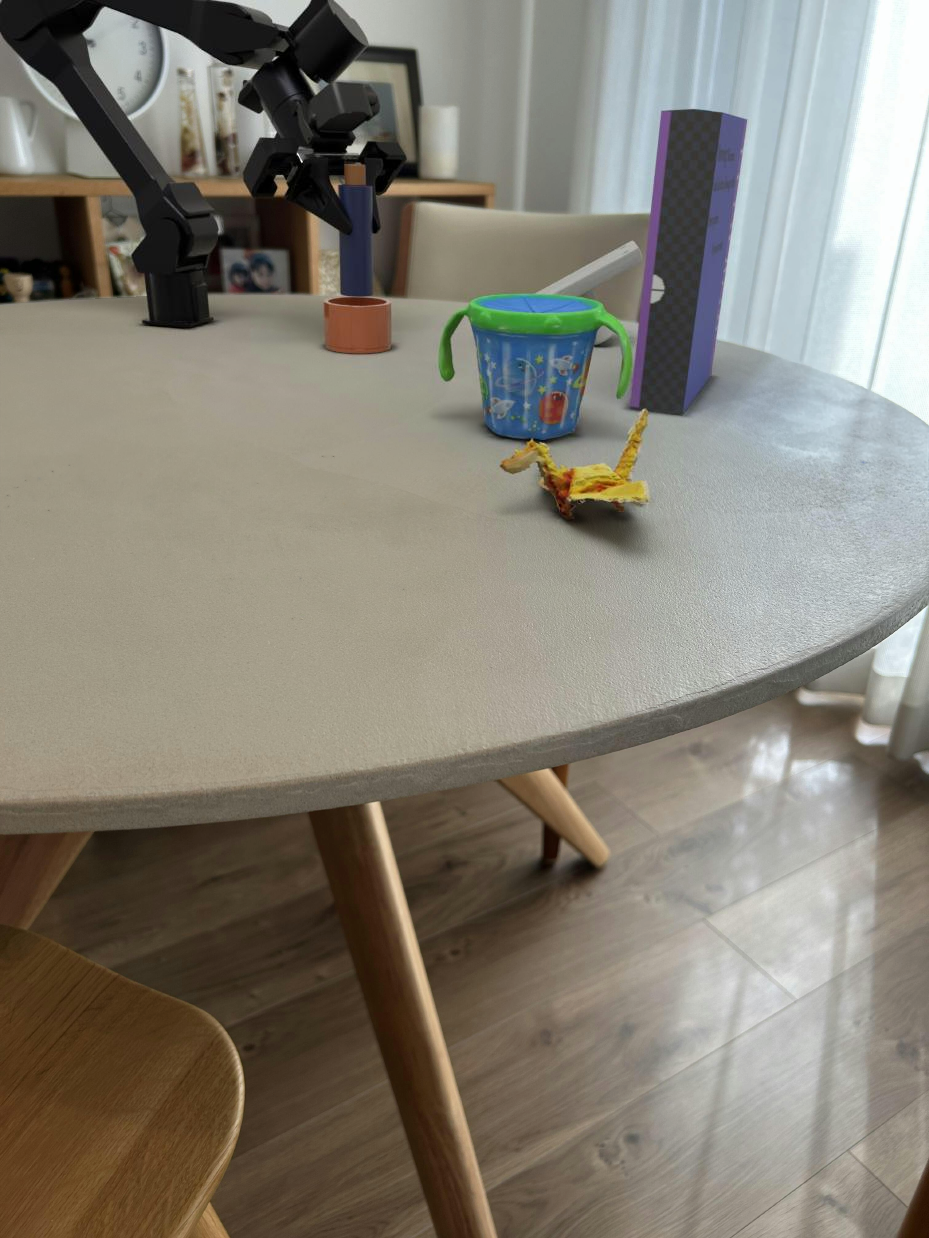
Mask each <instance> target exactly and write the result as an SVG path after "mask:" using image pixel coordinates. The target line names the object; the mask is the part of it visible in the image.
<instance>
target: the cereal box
mask: <svg viewBox="0 0 929 1238" xmlns="http://www.w3.org/2000/svg"><path fill="white" fill-rule="evenodd" d="M747 125H748V118H744V117H740V116H737V115H733V114H730V113H727V112H722V111H713V110H710V109H701V108H686V109H668V110H667V109H666V110H661V111H660V118H659V127H658V128H659V130H658V139H657V147H656V158H655V165H654V166H655V167H654V176H653V185H652V194H651V197H652V198H651V204H650V212H649V213H650V215H649V222H648V223H649V224H648V232H647V233H648V234H647V242H646V252H645V260H644V271H643V281H642V288H641V289H642V290H641V298H640V307H639V318H638V325H637V326H638V327H637V335H636V336H637V337H636V346H635V354H634V355H635V356H634V364H633V373H632V383H631V393H630V402H629V410H634V411H642V410H643V409H647V411H648V412H653V413H660V414H668V415H678V416H684V414H685V413H686V411H687V410H688V409H689V408H690V406H691V405H692V403H693V402H694V401H695V400H696V398H697V397H698V395H699V394H700V393H701V391H702V390H703V388H704V387H705V386H706V384H707V383H708V382H709V380H710V379H711V378H712V371H713V367H714V366H713V364H714V359H715V352H716V351H715V350H716V344H717V338H718V337H717V336H718V329H719V322H720V317H721V316H720V315H721V309H722V308H721V307H722V302H723V295H724V286H725V280H726V275H727V274H726V273H727V266H728V259H729V252H730V245H731V239H732V232H733V225H734V224H733V223H734V217H735V209H736V203H737V196H738V190H739V182H740V175H741V168H742V161H743V153H744V146H745V140H746V133H747Z"/></svg>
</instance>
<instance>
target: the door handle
mask: <svg viewBox="0 0 929 1238" xmlns="http://www.w3.org/2000/svg"><path fill="white" fill-rule="evenodd" d="M643 257H644V256H643V254H642V252H641V249H640V247H639V246H638V245H637V243H636V242H635V241H634V240H630V241H628V242H627V243H624V244H623V245H621V246H619V247H618V248H615V249H614V250H612V251H610V252H609V253H606V254H605V255H603V256H601V257H599V258H598V259H596V260H594V261H592V262H590V263H588V264H586V265H584V266H583V267H581V268H579V269H577V270H575V271H574V272H572V273H570V274H568V275H566V276H564V277H562V278H561V279H559V280H557V281H555V282H553V283H552V284H550V285H548V286H546V287H544V288H542V289H541V290H539V291H537V292H535V293H534V294H554V295H566V296H575V297H582V298H587V299H591V300H595V301H598V299H597V296H596V295H595V292H594V289H595V288H596V287H599V286H600V285H602V284H604V283H606V282H608V281H610V280H612V279H613V278H616V277H617V276H619V275H621V274H623V273H625V272H626V271H628V270H631V269H632V268H634V267H636V266H638V265H640V264H642V263H644V258H643ZM614 335H616V333H614V332H613V331H611V330H610V329H608V328H607V327H606V326H601V327H600V328H599V329H598V331H597V335H596V340H595V343H594V346H597V345H601V344H603V343H605V342H607V341H608V340H610V339H611V338H612V337H614Z"/></svg>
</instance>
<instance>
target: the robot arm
mask: <svg viewBox="0 0 929 1238" xmlns="http://www.w3.org/2000/svg"><path fill="white" fill-rule="evenodd" d="M104 8H108V9H111V10H113V11H116V12H118V13H120V14H124V15H126V16H129V17H132V18H134V19H138V20H140V21H142V22H145V23H148V24H151V25H154V26H156V27H159V28H162V29H165V30H167V31H170V32H173V33H174V34H178V35H179V36H182V38H185V39H186V40H188V41H190V43H191V44H193V45H194V46H195V47H197V48H198V49H199V50H201V51H203V52H204V53H206V54H207V55H209V56H211V57H212V58H214V59H216V60H217V61H219V62H221V63H222V64H223V65H224V64H225V65H226V66H232V67H240V68H245V69H250V70H256V72H255V73H254V74H253V75H252V77H251V78H250V79H243V80H242V87H241V89H240V90H239V93H238V97H237V103H238V104H239V105H240V106H242V107H244V108H245V109H248V110H250V111H252V112H253V113H256V114H257V115H261V114H262V113H263V112H264V113H265V115H266V117H267V118H268V120H269V121H270V123H271V125H272V127H273V129H274V131H275V132H276V133H275V135H274V137H267V136H265V137H262V136H261V137H259V138H258V140H257V142H256V143H255V146H254V148H253V150H252V152H251V154H250V156H249V158H248V160H247V162H246V165H245V167H244V169H243V171H242V181H243V183H244V185H245V186H246V188H247V190H248V192H249V194H250V195H251V196H252V198H274V196H275V195H276V193H277V191H278V189H279V186H278V185H277V183H276V181H275V179H276V178H277V176H282V177H283V179H284V180H285V181H286V182H285V184H286V186H287V189H286V191H285V192H284V194H283V199H284V200H285V202H286V203H292V204H294V205H296V206H297V207H300V208H301V209H303V210H305V211H306V212H308V213H310V214H311V215H314V216H316V217H317V218H319V219H320V220H321V221H323V222H325V223H327V224H328V225H330V226H331V227H332V228H334V229H335V230H337V231H338V232H339V231H340V232H342V233H343V234H345V235H350V233H351V232H352V230H353V227H352V224H351V222H350V219H349V217H348V215H347V213H346V211H345V209H344V207H343V205H342V203H341V201H340V199H339V197H338V192H336V189H335V188H334V186H333V184H332V182H331V180H337V181H338V182H339V184H340V185H345V178H344V164H360V165H365V176H366V185H368V186H372V216H373V235H377V234H378V233H379V232H380V230H381V228H382V224H381V217H380V212H379V206H378V201H377V197H379V196H380V197H381V196H382V195H383V194H386V193H387V191H388V190H389V188H390V187H391V185H392V184H393V182H394V181H395V179H396V178H397V176H398V174H399V173H400V171H401V170H402V168H403V167H404V165H405V163H406V162H407V160H408V157H407V155H406V153H405V151H404V150H403V148H402V146H401V144H400V142H398V141H382V140H381V141H377V140H375V141H374V140H367V142H366V143H365V145H364V147H363V148H362V150H361V152H360V153H358V152H348V150H347V148H348V147H352V146H353V143H355V140H356V139H357V137H356V135H355V133H354V131H355V130H356V129H358V128H359V127H360V126H362V125H363V124H364V123H365V122H369V121H371V120H372V119H373V118H375V117H376V116H377V115H378V114H379V113H380V112H381V111H380V110H381V105H380V104H381V103H380V100H379V97H378V94H377V93H376V91H375V89H373V88H372V86H371V85H370V83H362V82H345V81H336V80H338V78H339V77H340V76H342V74H343V73H344V72H345V71H346V70H347V69H348V68H349V67H350V66H351V65H352V64H353V63H354V62H355V61H356V60H357V58H358V57H360V55H361V54H362V53H364V51H365V50H366V49H367V48H368V47H369V44H370V43H369V40H368V37H367V36H366V34H365V32H364V31H363V28H361V26H360V24H359V23H358V22H357V20H356V19H354V18H353V17H351V16H350V15H349V13H347V12H346V10H345V9H344V8H343V7H342V6H341V5H340V4H338V2H336V1H335V0H310V1H309V4H308V5H307V7H306V8H305V9H304V10H303V11H302V12H301V13H300V14H299V15H298V16H297V17H296V19H295V20H294V21H293V22H292V23H291V24H290V26H287V25H282V24H279V23H276V22H273V19H272V18H271V17H270V16H269V15H268V14H267V13H266V12H264V11H262V10H259V9H255V8H253V7H248V6H245V5H242V4H238V3H235V2H229V1H223V0H1V1H0V36H1V38H2V39H3V40H4V42H5V43H6V44H7V45H8V46H9V47H10V48H11V49H12V51H13V52H14V53H15V54H17V56H18V57H19V58H20V59H21V60H22V61H23V62H24V63H25V65H27V66H28V67H30V68H31V69H32V70H33V71H35V72H36V73H38V74H39V75H40V76H42V77H43V78H45V79H46V80H47V81H49V82H50V83H51V84H52V85H54V87H55V88H56V89H57V90H58V92H59V93H60V95H61V96H62V98H63V99H64V100H65V102H66V103H67V104H68V106H69V107H70V109H71V110H72V111H73V113H74V114H75V116H76V117H77V118H78V120H79V121H80V123H81V124H82V125H83V127H84V129H86V131H87V133H88V134H89V135H90V136H91V138H92V139H93V141H94V142H95V144H96V146H98V148H99V149H100V151H101V152H102V154H103V155H104V156H105V158H106V159H107V161H108V162H109V163H110V165H111V166H112V167H113V169H114V170H115V172H116V173H117V174H118V176H119V177H120V179H121V180H122V182H123V183H124V184H125V186H126V188H128V190H129V192H130V193H131V195H132V196H133V198H134V201H135V206H136V211H137V216H138V221H139V224H140V226H141V228H142V229H143V231H144V233H145V236H144V237H143V239H142V240H141V241H140V242H139V244H138V245H137V246H136V247H135V249H134V250H133V251H132V252H131V254H130V257H131V260H132V262H133V265H134V267H135V269H136V272H137V273H138V274H143V277H144V285H145V294H146V303H147V304H146V305H147V311H148V317H147V318H142V319H141V324H143V325H154V326H165V327H176V328H177V327H178V328H191V327H194V326H199V325H201V324H204V323H208V322H211V321H214V315H210V305H209V303H210V302H209V293H208V285H207V284H206V282H204V273H203V270H202V269H205V268H207V267H208V264H209V260H210V257H211V256H210V255H211V253H212V251H213V250H214V249H215V248H216V245H217V243H218V240H219V231H220V228H219V225H218V222H217V220H216V218H215V216H214V215H213V214H215V213H216V209H215V208H213V207H212V206H211V205H210V204H209V203H208V202H207V201H206V199H205V197H204V196H203V194H202V192H201V189H200V188H199V186H198V185H197V184H196V183H195V182H194V181H181V182H180V181H179V182H178V181H176V180H175V179H173V178H172V177H171V176H170V175H169V174H168V173H167V171H166V170H165V168H164V167H163V166H162V164H161V162H159V160H158V159H157V157H156V156H155V154H154V152H152V150H151V149H150V147H149V145H148V144H147V143H146V141H145V140H144V139H143V137H142V136H141V134H140V132H139V131H138V129H136V127H135V126H134V125H133V123H132V122H131V120H130V118H129V117H128V115H127V114H126V113H125V111H124V110H123V108H122V107H121V106H120V104H119V103H118V101H117V100H116V99H115V97H114V96H113V94H112V93H111V91H110V90H109V89H108V87H107V86H106V84H105V82H104V81H103V80H102V79H101V77H100V76H99V74H98V73H97V72H96V70H95V68H94V67H93V65H92V62H91V58H90V52H89V47H88V43H87V39H86V37H85V35H84V33H86V31H87V30H89V29H90V28H91V27H92V26H93V25H94V23H95V22H96V20H97V18H98V17H99V15H100V13H101V11H102V10H103V9H104ZM307 78H308V79H310V81H312V82H313V83H315V84H318V85H319V84H320V83H321V82H322V81H323V82H325V83H326V84H327V85H326V86H324V87H323V88H322V89H321V90H320V91H319V92H318V93H315V90H314V89H313V87H312V85H311V84H310V82H309V80H308V79H307Z"/></svg>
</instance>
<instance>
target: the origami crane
mask: <svg viewBox="0 0 929 1238" xmlns="http://www.w3.org/2000/svg"><path fill="white" fill-rule="evenodd" d="M648 415H649V411H647V409H643V410H640V411H639V413H638V414H636V417H635V421H634V424H633V425H632V426H631V427H630V429H629V430H628V432H627V434H626V435H627V440H626V441H625V444H626V446H625V447H624V448H623V450H622V453H621V454H622V455H621V456H620V458H619V461H618V463H617V465H616V466H615V468H614V470H613V469H612V467H610V466H608V465H607V464H606V463H605V462H601V463H597V464H589V465H584V466H577V467H570V469H568V468H567V465H564V464H559V465H560V466H561V467H560V468H558V467H557V465H556V464H555V462H554V460H553V459H551V457H552V455H551V454H550V453H549V450H550V449H551V448H550V447H549V446H548V445H547V444H546V443H544V442H541V441H539V443H537V442H536V441H534V439H533V438H532V439H530V441H526V444H525V446H526V447H525V448H522V449H520V448H521V446H519V447H518V448H519V449H520V450H519V449H518V448H515V449H514V454H513V455H512V456H511V457H510V458H504V460H502V461H501V463H500V464H499V468H501V469H502V470H503V471H504V472H506V473H509V474H511V475H515V474H519V473H522V471H526V470H527V469H531V464H537V468H538V472H540V477H541V478H540V479H539V482H538V485H539V486H540V487H541V488H542V489H545V491H548V492H550V493H551V494H552V496H553V497H554V498H555V502H556V506H557V507H558V509H559V511H558V514H559V515H561V517H563V518H564V519H565V520H567V521H569V520H575V516H574V515H573V514H572V512H571V510H572V509H574V508H576V507H578V505H585V504H584V503H585V502H586V500H585V499H591V500H592V499H593V500H594V501H606V502H608V503H611V504H613V505H614V506H613V507H614V510H616V512H618V513H619V512H621V513H624V511H625V505H621V503H622V504H625V503H629V502H631V504H632V505H633V506H635V507H641V508H642V507H644V506H646V505H650V492H649V491H650V490H649V483H648V481H647V480H638V481H633V478H634V471H635V468H636V463H637V462H638V460H639V457H640V456H639V455H640V453H641V450H642V446H643V442H644V440H643V437H642V433H643V432H644V430H645V429H646V428H648ZM574 501H577V504H578V505H575V504H574V503H571V502H574ZM641 502H643V503H641Z"/></svg>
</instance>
